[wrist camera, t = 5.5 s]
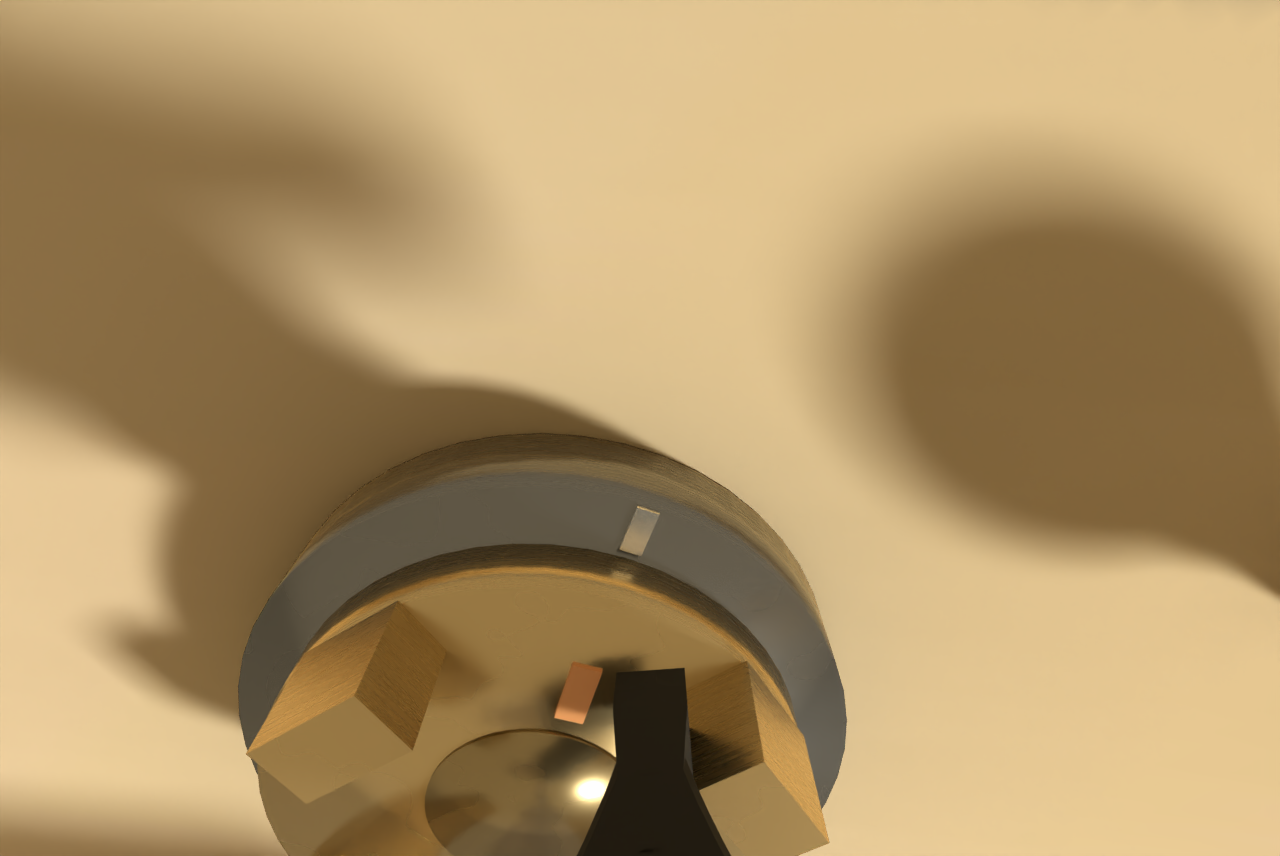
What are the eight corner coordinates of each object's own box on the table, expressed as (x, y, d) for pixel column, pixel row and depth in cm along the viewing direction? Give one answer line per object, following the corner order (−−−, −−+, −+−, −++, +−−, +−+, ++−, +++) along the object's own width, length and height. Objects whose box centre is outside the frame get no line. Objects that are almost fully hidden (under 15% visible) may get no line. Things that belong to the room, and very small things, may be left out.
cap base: (569, 912, 21) (561, 997, 19) (177, 672, 17) (118, 747, 15) (934, 677, 17) (971, 753, 15) (533, 306, 13) (515, 346, 11)
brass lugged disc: (229, 827, 16) (137, 994, 13) (385, 451, 12) (303, 572, 9) (650, 959, 18) (651, 1131, 15) (900, 672, 14) (966, 830, 11)
